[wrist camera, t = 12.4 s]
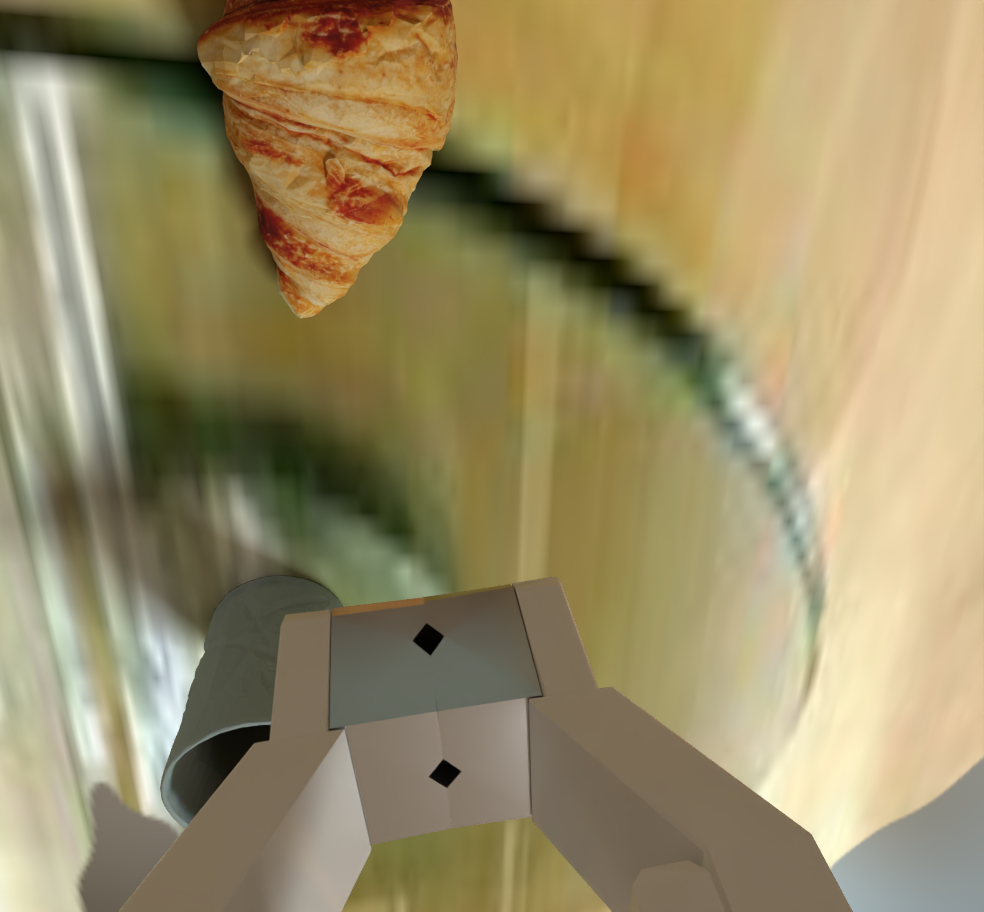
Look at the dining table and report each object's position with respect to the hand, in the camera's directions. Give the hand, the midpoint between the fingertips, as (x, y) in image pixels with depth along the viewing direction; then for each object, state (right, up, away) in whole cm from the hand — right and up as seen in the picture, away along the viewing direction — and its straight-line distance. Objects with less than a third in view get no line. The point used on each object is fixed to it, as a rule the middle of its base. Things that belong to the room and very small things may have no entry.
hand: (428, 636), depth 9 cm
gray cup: (-13, -9, +41) cm, 44 cm away
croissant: (-6, +19, +25) cm, 32 cm away
